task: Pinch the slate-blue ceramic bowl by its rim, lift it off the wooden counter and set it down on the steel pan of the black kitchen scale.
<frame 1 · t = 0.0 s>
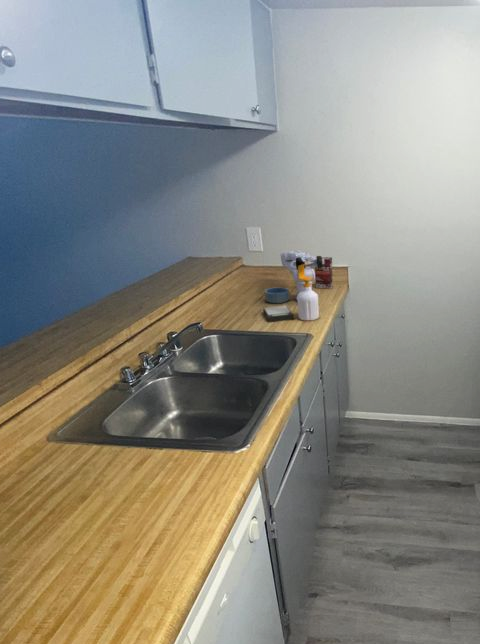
hand: (313, 264, 209), 22 cm above the worktop, tool horizontal, fingers open, 7 cm apart
supplement box: (324, 287, 257), on the worktop
spray bottle: (308, 318, 213), on the worktop
scale: (278, 316, 214), on the worktop
bowl: (277, 300, 235), on the worktop
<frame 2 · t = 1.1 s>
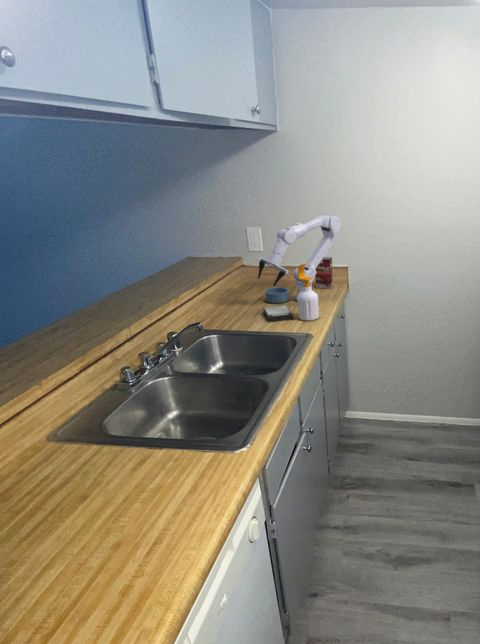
hand: (266, 282, 217), 13 cm above the worktop, tool tilted 35°, fingers open, 7 cm apart
nothing on the worktop moved.
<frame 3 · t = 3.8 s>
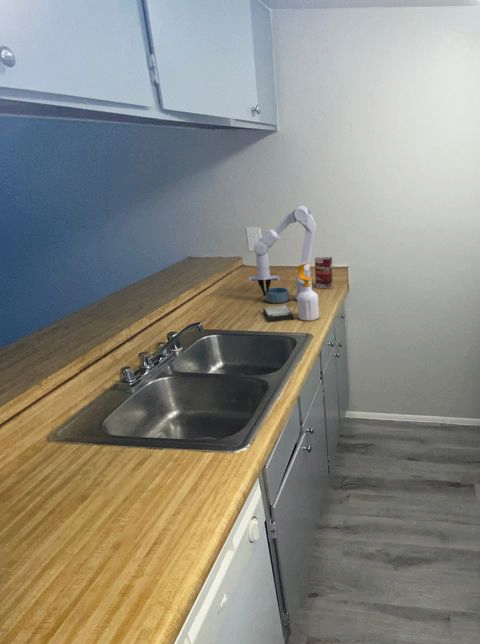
hand: (265, 295, 233), 3 cm above the worktop, tool pointing down, fingers closed on bowl
bowl: (277, 300, 235), on the worktop, touching gripper
everything else where it was.
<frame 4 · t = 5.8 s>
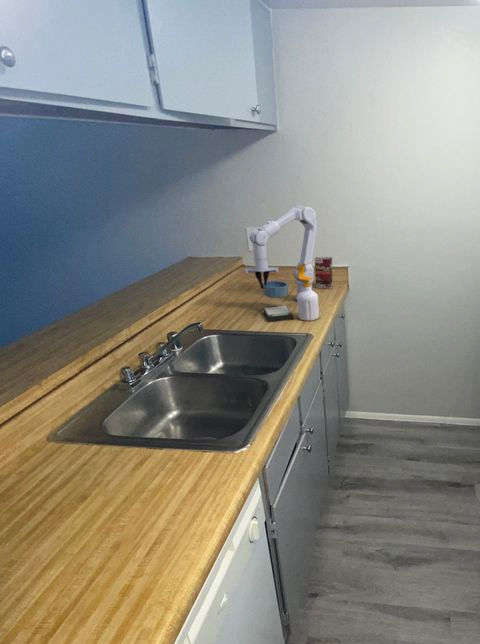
hand: (263, 288, 219), 10 cm above the worktop, tool pointing down, fingers closed on bowl
bowl: (275, 294, 221), point 7 cm above the worktop, touching gripper
everything else where it was.
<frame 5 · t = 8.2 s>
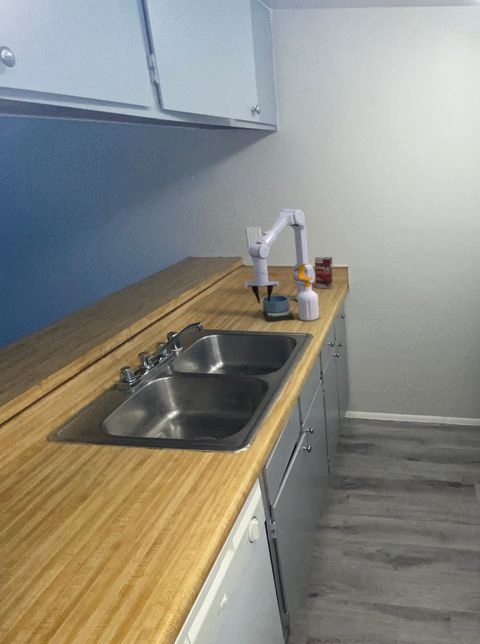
hand: (264, 302, 212), 6 cm above the worktop, tool pointing down, fingers open, 4 cm apart
bowl: (276, 309, 214), point 3 cm above the worktop, touching scale
everything else where it was.
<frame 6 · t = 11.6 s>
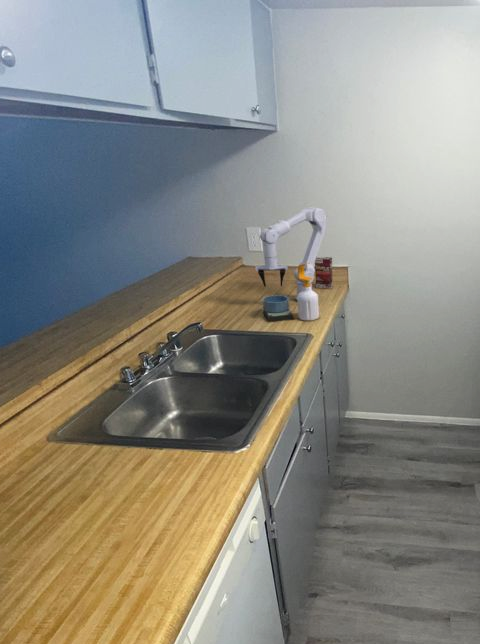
hand: (273, 285, 222), 10 cm above the worktop, tool pointing down, fingers open, 7 cm apart
nothing on the worktop moved.
at the end: bowl inside the target area on the scale (0.7 cm from its centre), point 2.6 cm above the scale's base; bowl tilted 0° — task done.
